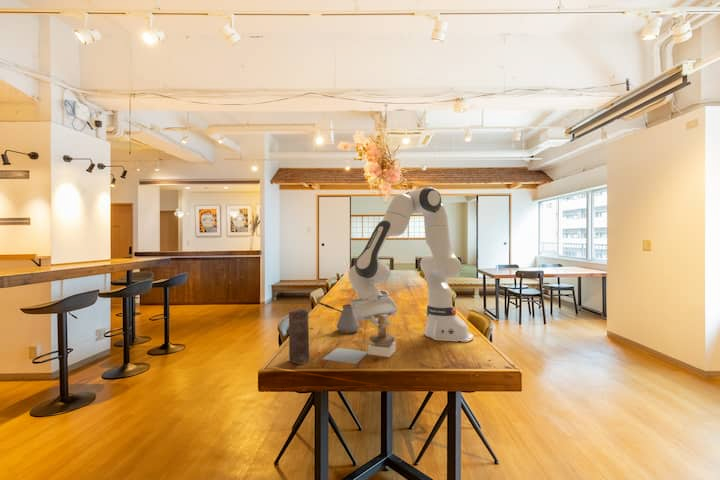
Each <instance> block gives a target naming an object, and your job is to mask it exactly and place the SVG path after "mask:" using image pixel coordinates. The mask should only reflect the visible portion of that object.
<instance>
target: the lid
mask: <svg viewBox="0 0 720 480" xmlns="http://www.w3.org/2000/svg"><path fill="white" fill-rule="evenodd" d="M377 321H379V322H380V324H381V326H380V327H377V331H378V332H377V333H376V334H372V335H370V336H369V341H370V343H371V342H373V343H378V344H388V343H392V342H395V336H393V335H391V334H387V326H386V315H383V314H380V315H378V318H377Z"/></svg>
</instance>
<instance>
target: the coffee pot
mask: <svg viewBox="0 0 720 480" xmlns="http://www.w3.org/2000/svg"><path fill="white" fill-rule="evenodd" d="M318 305H320V306H323V307H326V308H329V309H330V310H335V311H337V312H339V313H341V314H340V316H339V318H338V321H337V323H336V328H337V329H338V331H340V332H341V333H342V334H354V333H356V331H358V330H359V328H360V323H359V322H360V321H357V320H356V319H355V317H354V314H353V310H352V308H351V305H350V303H349V304H343V305H341V307H342V310H341V309H338V308H336V307H334V306H331V305H328V304H327V303H326V304H325V303H324V302H320V301H318V302H317V305H316V306H318Z"/></svg>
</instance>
